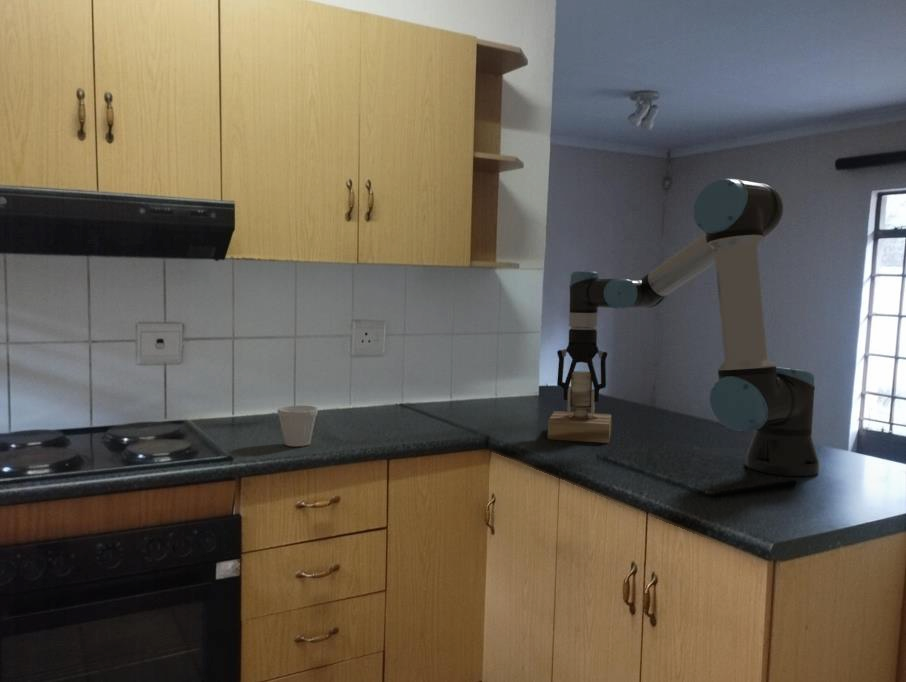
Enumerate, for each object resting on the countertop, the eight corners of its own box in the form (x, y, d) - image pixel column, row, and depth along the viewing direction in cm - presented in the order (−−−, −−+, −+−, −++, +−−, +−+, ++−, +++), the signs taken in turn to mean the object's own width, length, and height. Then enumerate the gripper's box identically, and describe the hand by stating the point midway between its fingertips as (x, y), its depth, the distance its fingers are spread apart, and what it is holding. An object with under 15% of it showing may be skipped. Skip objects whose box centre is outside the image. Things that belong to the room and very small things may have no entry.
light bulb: (590, 425, 192) (591, 373, 191) (569, 424, 193) (570, 373, 192) (591, 421, 197) (593, 371, 196) (571, 420, 199) (572, 370, 198)
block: (608, 443, 186) (609, 424, 186) (547, 439, 190) (548, 420, 190) (610, 431, 201) (611, 414, 200) (554, 428, 205) (554, 411, 204)
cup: (324, 442, 184) (324, 406, 183) (306, 450, 174) (306, 413, 173) (289, 439, 186) (289, 404, 186) (270, 447, 177) (269, 410, 176)
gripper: (618, 328, 195) (616, 412, 196) (550, 326, 199) (548, 408, 201) (617, 330, 187) (615, 417, 189) (546, 328, 192) (545, 413, 194)
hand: (580, 412), depth 195 cm, fingers closed on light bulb, 6 cm apart
